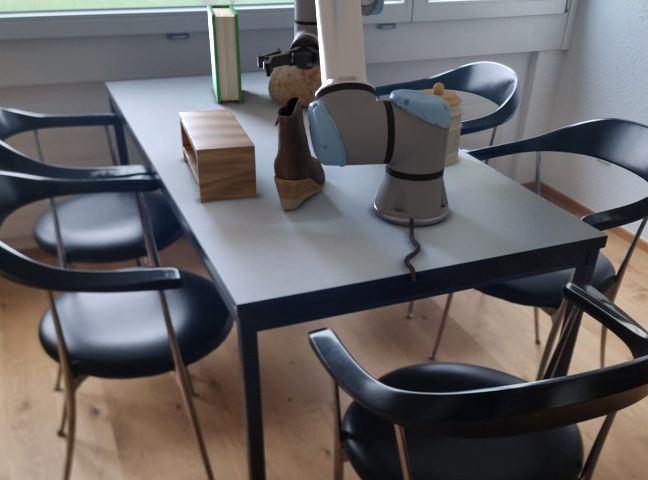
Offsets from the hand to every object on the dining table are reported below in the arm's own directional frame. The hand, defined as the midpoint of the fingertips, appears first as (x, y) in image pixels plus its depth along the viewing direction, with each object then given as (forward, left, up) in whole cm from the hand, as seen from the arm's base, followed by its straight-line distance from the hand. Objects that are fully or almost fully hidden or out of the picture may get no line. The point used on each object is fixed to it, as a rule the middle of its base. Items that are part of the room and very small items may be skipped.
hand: (298, 71), depth 151 cm
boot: (-16, +4, -22) cm, 27 cm away
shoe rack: (-2, +20, -21) cm, 29 cm away
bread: (+56, -19, -22) cm, 63 cm away
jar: (-2, -33, -22) cm, 40 cm away
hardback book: (+68, +5, -22) cm, 72 cm away
